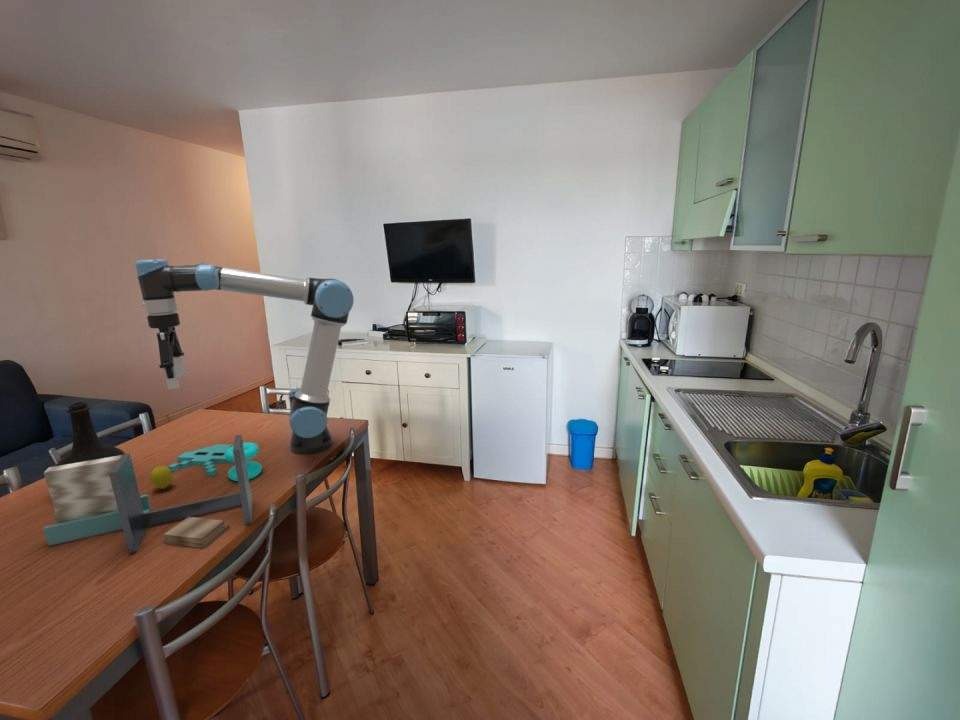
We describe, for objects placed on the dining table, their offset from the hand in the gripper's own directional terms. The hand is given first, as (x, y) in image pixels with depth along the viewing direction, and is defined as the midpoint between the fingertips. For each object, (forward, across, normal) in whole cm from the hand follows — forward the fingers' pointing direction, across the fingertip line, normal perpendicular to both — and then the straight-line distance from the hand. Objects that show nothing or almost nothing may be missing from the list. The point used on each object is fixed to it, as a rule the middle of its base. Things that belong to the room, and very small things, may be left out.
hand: (177, 382), depth 132 cm
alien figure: (+34, -15, +1) cm, 38 cm away
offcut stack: (+34, +33, +3) cm, 48 cm away
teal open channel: (+33, +16, -21) cm, 42 cm away
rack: (+34, +28, +2) cm, 44 cm away
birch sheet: (+32, +16, -21) cm, 42 cm away
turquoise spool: (+34, +3, +14) cm, 37 cm away
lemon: (+34, 0, -9) cm, 35 cm away
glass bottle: (+33, -12, -29) cm, 46 cm away
